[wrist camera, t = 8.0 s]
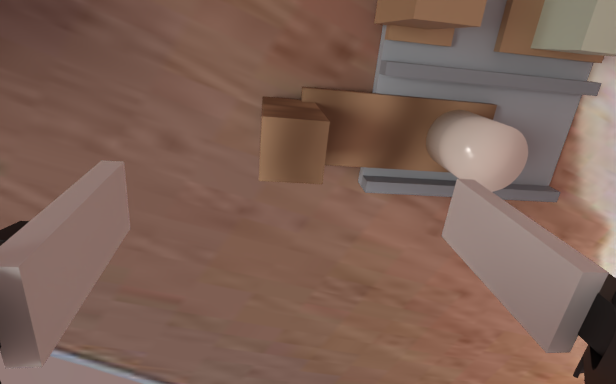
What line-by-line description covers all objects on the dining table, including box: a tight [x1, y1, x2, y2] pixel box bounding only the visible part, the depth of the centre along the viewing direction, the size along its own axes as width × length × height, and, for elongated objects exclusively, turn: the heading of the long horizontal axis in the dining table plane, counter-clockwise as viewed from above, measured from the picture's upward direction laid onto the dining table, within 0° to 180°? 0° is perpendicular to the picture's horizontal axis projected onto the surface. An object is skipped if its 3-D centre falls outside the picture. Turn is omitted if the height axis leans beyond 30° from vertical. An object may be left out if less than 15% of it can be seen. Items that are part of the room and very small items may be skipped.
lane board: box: [358, 0, 604, 202], centre depth 27 cm, size 19×20×9 cm
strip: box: [259, 87, 497, 184], centre depth 27 cm, size 19×6×8 cm, turn 84°
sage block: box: [531, 0, 616, 56], centre depth 26 cm, size 5×5×5 cm
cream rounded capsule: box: [426, 110, 528, 192], centre depth 28 cm, size 5×5×6 cm
